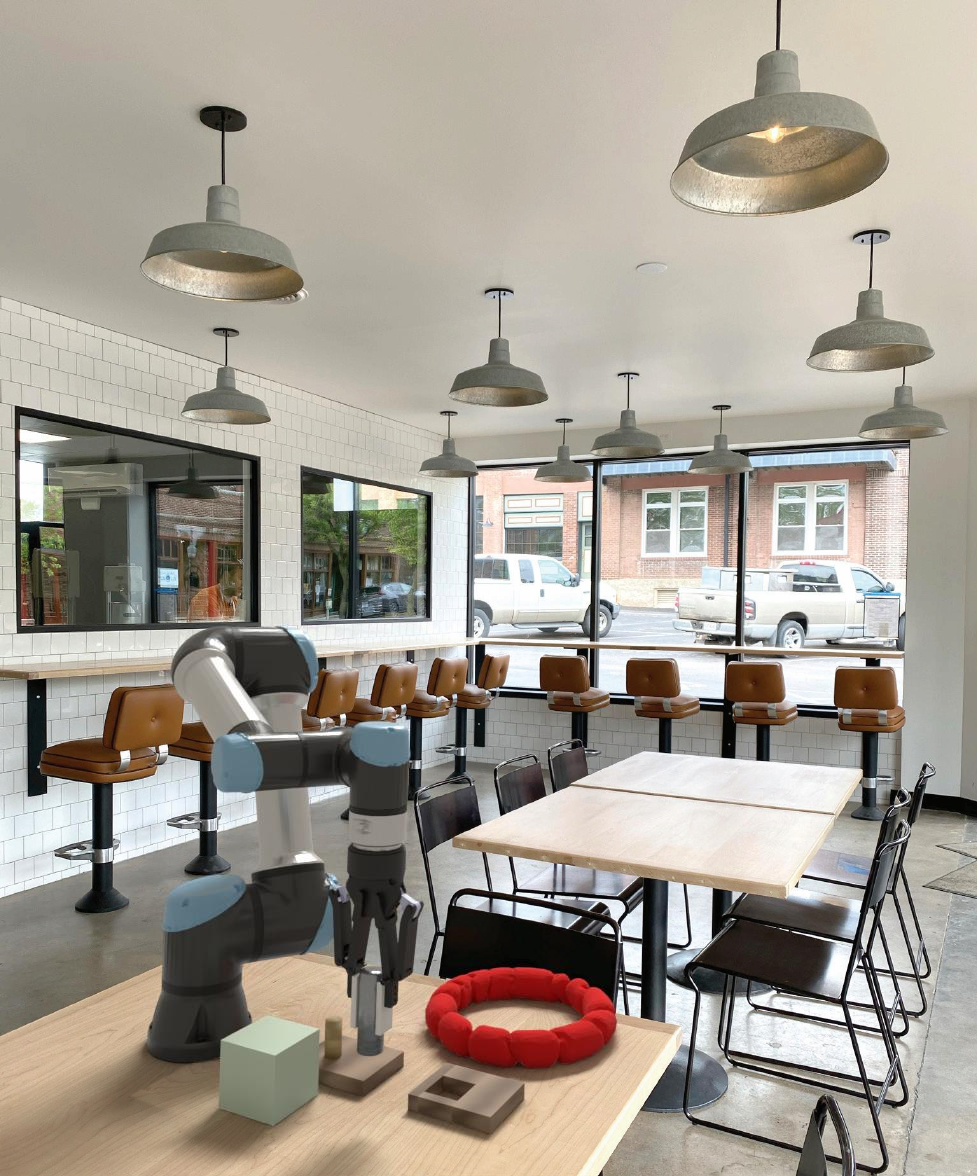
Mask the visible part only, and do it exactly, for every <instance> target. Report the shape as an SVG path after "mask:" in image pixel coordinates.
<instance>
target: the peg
mask: <svg viewBox="0 0 977 1176" xmlns="http://www.w3.org/2000/svg"><path fill="white" fill-rule="evenodd" d="M381 979H382V968H381V966H377V965H370V966H365V967H363V968H362V969H361V970H360V972H359V1002H358V1027H357V1032H356V1033H357V1035H356V1036H357V1038H356V1039H357V1052H358V1053H359V1054H360V1055H363V1056H376V1055H379V1054H381V1053H382V1052H383V1050H384V1044H385V1043H384V1042H385V1033H384V1034H382V1035H381V1036H379V1035H376V1034H375V1029H376V998H377V982H379V980H381Z"/></svg>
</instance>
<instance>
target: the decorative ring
mask: <svg viewBox="0 0 977 1176" xmlns="http://www.w3.org/2000/svg"><path fill="white" fill-rule="evenodd" d="M518 998H520V999H521V998H523V999H525V1000H530V1001H531V1000H534V1001H540V1002H545V1003H551V1004H552V1003H555V1004H556V1003H559V1002H561V1003H562V1004H563V1005H566V1006H569V1007H572V1008H573V1009H574V1011H576V1012H577V1013H578V1014H580V1015H581V1016H582V1018H580V1020H578V1021H574V1022H571V1023H567V1024H565V1025H560V1026H556V1027H554V1028H550V1029H549V1030H547V1029H516V1030H512V1031H509V1030H507V1029H505V1028H503V1027H496V1026H495V1027H494V1026H492V1025H487V1024H480V1025H478V1026H477V1027H475V1028H474V1027H473V1024H472V1022H471V1021H470V1020H469V1019H467V1018H466V1017H465V1016H463V1015H461V1014H460V1013H458V1011H462V1010H464V1009H466V1008H467V1007H468V1006H470V1005H471V1004H473V1003H475V1004H480V1003H483V1001H486V1002H491V1001H493V1002H494V1001H497V1000H498V1001H500V1000H513V999H518ZM424 1012H425V1013H424V1017H425V1018H424V1019H425V1024H426V1027H427V1030H428V1031H429V1033H430V1034H431V1036H432V1037H434V1039H436V1040H437V1041H439V1042H441V1043H442V1045H443V1046H444V1047H445V1049H447V1050H448V1051H450V1052H451V1053H453V1054H454V1055H456V1056H459V1057H462V1058H472V1059H473V1060H474V1061H475V1062H477V1063H480V1064H484V1065H487V1066H494V1067H500V1068H512V1067H514V1066H516V1065H517V1063H520V1064H521V1065H522V1066H524V1067H525V1068H527V1069H531V1070H532V1069H545V1068H546V1069H547V1068H551V1067H552V1066H554V1065H555V1064H556V1063H560V1064H562V1065H569V1064H572V1063H577V1062H579V1061H582V1060H584V1059H587V1058H589V1057H591V1056H593V1055H595V1054H597V1053H598V1052H599V1051H601V1050H603V1048H604V1046H606V1045H607V1044H609V1043H610V1041H611V1040H612V1038H613V1036H614V1035H615V1033H616V1029H617V1023H618V1020H617V1017H616V1008H615V1006H614V1004H613V1002H612V1000H611V999H610V998H609V996H608V995H607V994H606V993H605V991H602V989H600V988H598V987H596V986H595V987H594V986H593V987H592V986H591V987H590V985H589V983H588V982H587V981H586V980H585V979H583V978H579V977H578V978H574V979H573V978H572V980H571V979H570V978H569V976H568V975H567V974H565V973H553V972H552V971H551V970H547V969H545V968H536V967H518V966H517V967H514V968H513V967H512V968H511V967H495V968H490V969H479V970H474V971H470V972H468V973H467V974H461V975H458V976H456V977H453V978H450V979H449V980H447V981H446V982H445V983H443V984H441V985H439V986H438V987H437V988H436V989H435V990H434V992H433V993H432V994H431V996H430V998H429V1000H428V1002H427V1004H426V1007H425V1010H424ZM473 1028H474V1029H473Z"/></svg>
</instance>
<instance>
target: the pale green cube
mask: <svg viewBox="0 0 977 1176" xmlns="http://www.w3.org/2000/svg"><path fill="white" fill-rule="evenodd" d="M320 1031H321V1030H320V1028H318V1027H314V1026H310V1025H306V1024H303V1023H300V1022H299V1023H298V1022H294V1021H291V1020H286V1019H283V1018H279V1017H276V1016H272V1015H268V1014H266V1015H265V1016H263V1017H261V1018H259V1019H257V1020H255V1021H253V1023H252V1024H250V1025H248V1026H246V1027H244V1028H242V1029H241V1030H239V1031H237V1032H235V1033H233V1034H231V1035H229V1036H227V1037H226V1038H224V1039H222V1040H221V1051H220V1058H219V1088H218V1095H219V1096H218V1109H220V1110H223V1111H227V1112H229V1113H233V1114H236V1115H238V1116H242V1117H244V1118H248V1119H251V1120H254V1121H257V1122H260V1123H262V1124H266V1125H268V1126H272V1127H274V1126H276V1125H277V1124H278V1123H280V1122H281V1121H283V1120H284V1119H286V1118H287V1117H289V1116H290V1115H291V1114H293V1113H294V1112H296V1111H297V1110H298V1109H301V1107H303V1106H304V1105H305V1104H308V1102H310V1101H311V1100H313V1099H314V1098H315V1097H317V1096H319V1083H318V1076H319V1044H320Z"/></svg>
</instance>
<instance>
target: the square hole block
mask: <svg viewBox="0 0 977 1176" xmlns="http://www.w3.org/2000/svg"><path fill="white" fill-rule="evenodd" d="M525 1088H526V1087H525V1082H522V1081H519V1080H514V1079H511V1078H507V1077H503V1076H498V1075H496V1074H493V1073H489V1072H488V1073H487V1072H484V1071H480V1070H476V1069H473V1068H468V1067H465V1066H461V1065H457V1064H453V1063H450V1062H445V1063H444V1064H443V1065H441V1066H440V1067H439V1068H438V1069H436V1071H434V1072H433V1073H432V1074H430V1075H429V1076H428V1077H426V1078H425V1079H424V1080H423V1081H422V1082H420V1084H419V1085H417V1086H416V1087H414V1088H413V1089H412V1090H411V1091H410V1092H408V1094H407V1096H408V1097H407V1110H409V1111H411V1112H414V1113H415V1112H416V1113H418V1114H422V1115H424V1116H425V1115H426V1116H428V1117H432V1118H434V1119H435V1118H436V1119H439V1120H441V1121H442V1120H443V1121H445V1122H449V1123H453V1124H456V1125H458V1126H463V1127H466V1128H469V1129H472V1130H476V1131H479V1132H483V1133H486V1134H491V1133H493V1131H494V1130H496V1128H498V1127H499V1125H500V1124H501V1123H502V1122H503V1121H504V1120H505V1119H506V1118H507V1117H508V1116H509V1115H511V1113H512V1111H514V1110H515V1109H516V1108H517V1106H518V1105H520V1103H522V1101H523V1100H524V1099H525ZM442 1092H446V1093H449V1094H450V1093H451V1094H453V1095H457V1096H460V1098H459V1099H458V1100H455V1099H452V1098H449V1097H445V1096H442V1095H440V1094H441V1093H442Z"/></svg>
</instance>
